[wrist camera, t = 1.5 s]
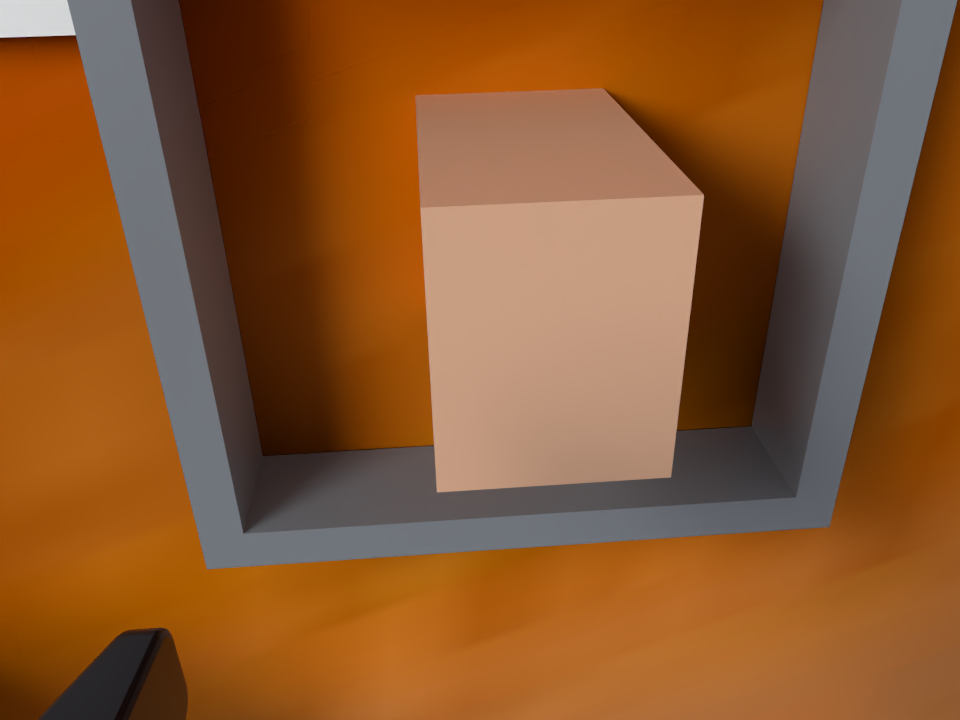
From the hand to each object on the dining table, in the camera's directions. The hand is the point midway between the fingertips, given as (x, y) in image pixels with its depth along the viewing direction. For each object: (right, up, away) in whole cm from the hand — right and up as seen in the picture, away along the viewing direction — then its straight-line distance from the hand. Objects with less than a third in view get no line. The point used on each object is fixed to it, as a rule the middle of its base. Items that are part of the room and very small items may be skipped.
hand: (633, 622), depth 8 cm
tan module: (-1, +6, +11) cm, 12 cm away
